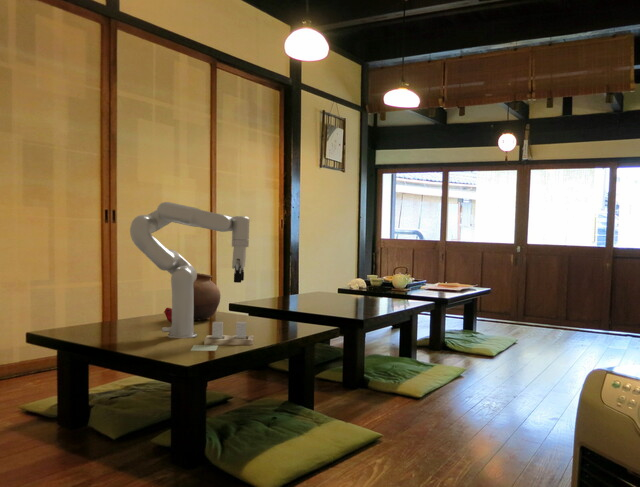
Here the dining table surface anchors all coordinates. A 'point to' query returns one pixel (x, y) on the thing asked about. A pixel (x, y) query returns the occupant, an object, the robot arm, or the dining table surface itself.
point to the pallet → (228, 340)
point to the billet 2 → (241, 330)
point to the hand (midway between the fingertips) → (238, 281)
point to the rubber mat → (204, 348)
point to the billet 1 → (217, 330)
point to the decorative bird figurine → (168, 314)
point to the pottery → (205, 297)
